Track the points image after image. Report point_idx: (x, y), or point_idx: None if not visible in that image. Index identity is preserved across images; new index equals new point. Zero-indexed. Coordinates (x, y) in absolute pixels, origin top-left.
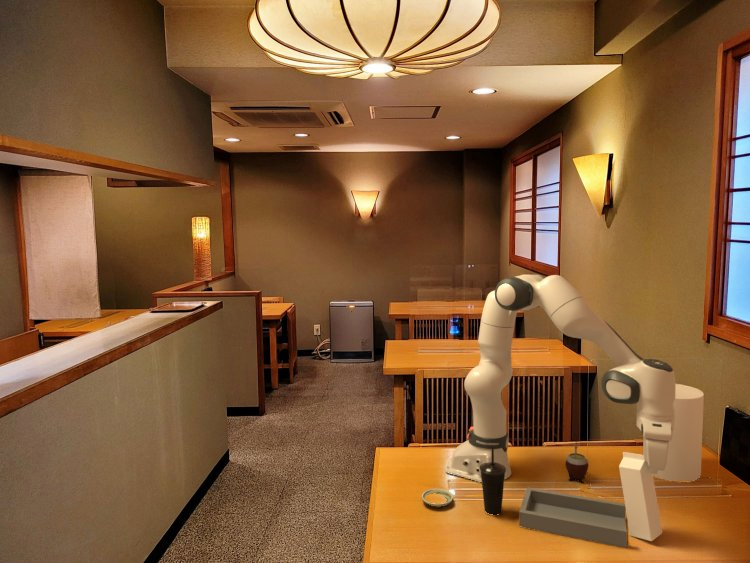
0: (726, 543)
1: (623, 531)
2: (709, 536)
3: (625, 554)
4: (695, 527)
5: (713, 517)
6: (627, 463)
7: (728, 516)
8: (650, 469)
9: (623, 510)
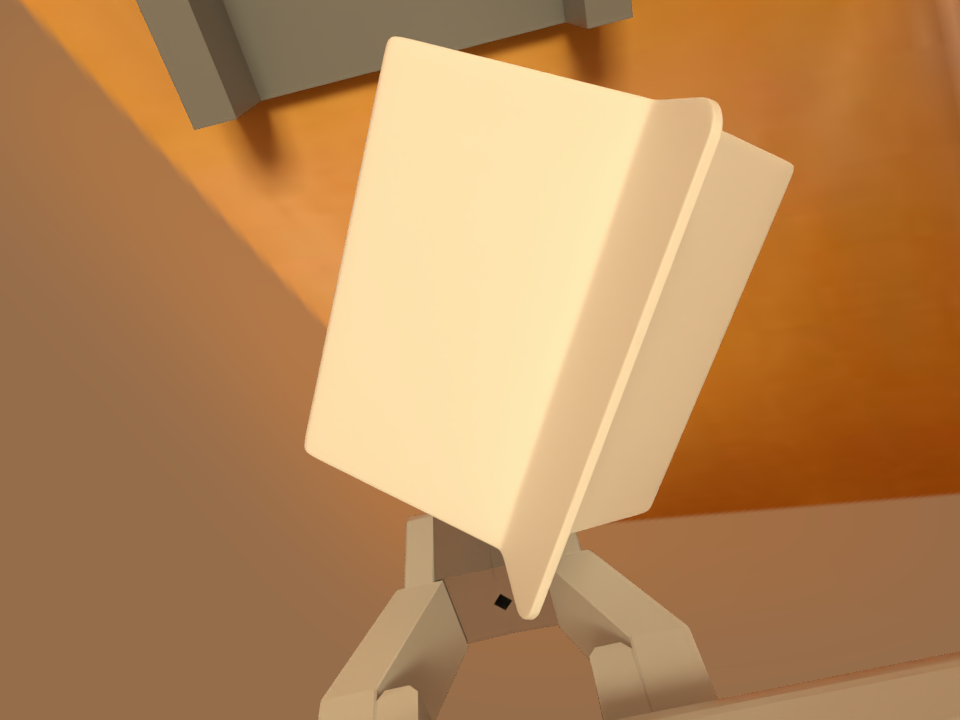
0: None
1: (184, 104)
2: None
3: (155, 116)
4: None
5: (806, 419)
6: (449, 222)
7: (836, 462)
8: (409, 553)
9: (577, 9)
